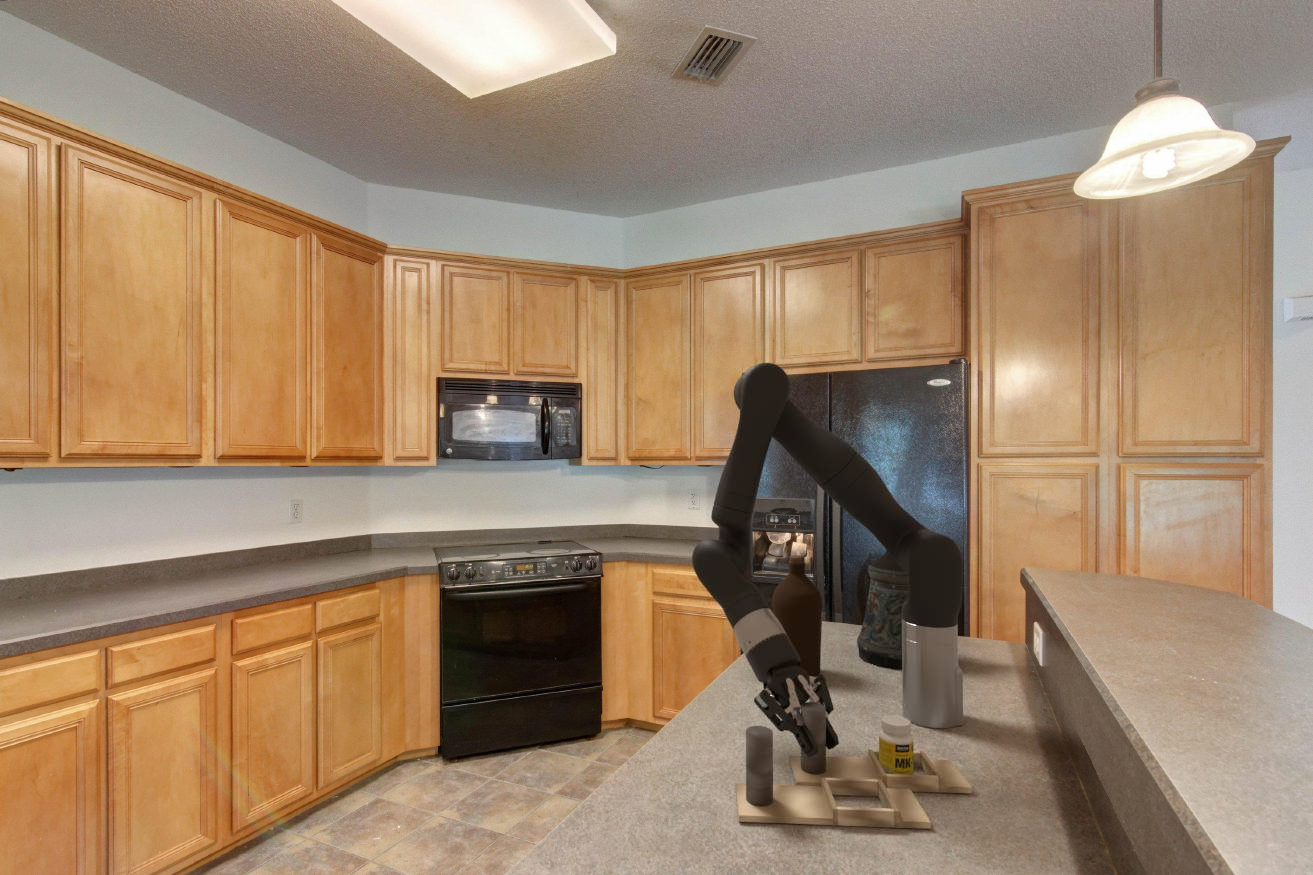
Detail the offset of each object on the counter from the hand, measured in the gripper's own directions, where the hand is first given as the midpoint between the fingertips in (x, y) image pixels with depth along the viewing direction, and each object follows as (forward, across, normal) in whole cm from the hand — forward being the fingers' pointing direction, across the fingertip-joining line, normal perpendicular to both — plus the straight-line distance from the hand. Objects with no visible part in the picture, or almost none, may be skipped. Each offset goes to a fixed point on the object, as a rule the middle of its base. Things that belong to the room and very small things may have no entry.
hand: (824, 749), depth 94 cm
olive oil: (-21, +30, +28) cm, 46 cm away
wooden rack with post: (+6, +7, +1) cm, 9 cm away
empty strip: (+7, -5, -1) cm, 9 cm away
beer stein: (-17, +57, +23) cm, 64 cm away
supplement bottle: (+7, +9, 0) cm, 12 cm away
